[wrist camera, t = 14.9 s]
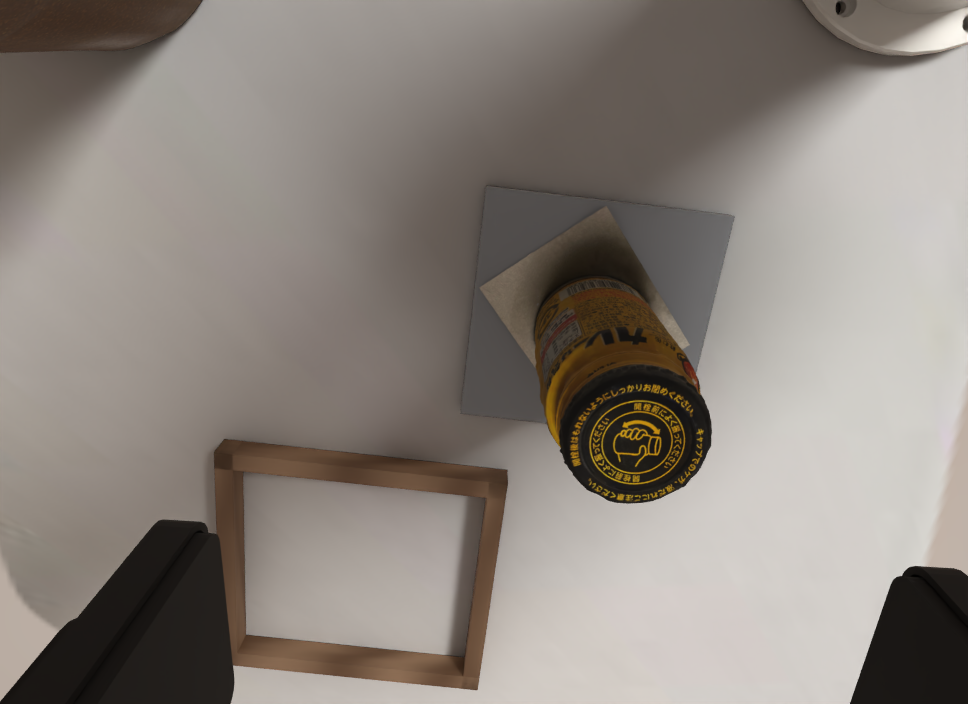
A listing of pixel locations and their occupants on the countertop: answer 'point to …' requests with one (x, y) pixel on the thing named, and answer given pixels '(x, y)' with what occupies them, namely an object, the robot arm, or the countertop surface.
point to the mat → (492, 349)
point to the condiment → (606, 363)
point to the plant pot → (88, 23)
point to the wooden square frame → (366, 471)
